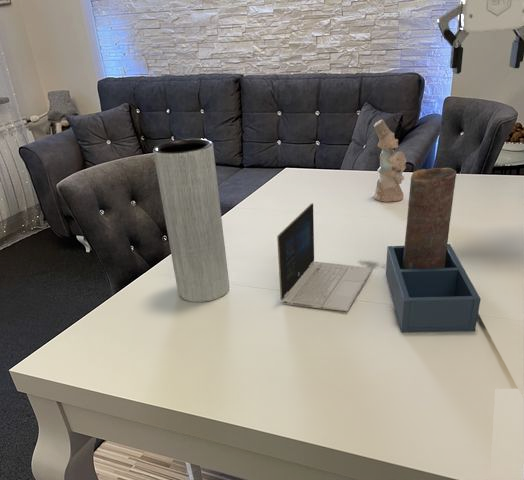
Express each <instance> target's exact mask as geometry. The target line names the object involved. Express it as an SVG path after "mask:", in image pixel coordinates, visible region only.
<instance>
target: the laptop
mask: <svg viewBox="0 0 524 480" xmlns="http://www.w3.org/2000/svg"><path fill="white" fill-rule="evenodd" d="M314 230H315V228H314V203H313V202H311V203H310V204H309V205H308V206H307V207H306V208H305V209H304V210H303V211H302V212H300V213H299V214H298V215H297V216H296V217H295V218H294V219H293V220H292V221H291V222H290V223H289V224H288V225H287V226H286V227H285V228H284V229H283V230H282V231H281V232H280V233H279V234H278V235H277V237H276V239H277V240H276V241H277V259H278V276H279V278H278V279H279V294H280V295H279V297H280V301H281V304H283V305H291V306H298V307H306V308H316V309H323V310H334V311H344V312H347V311H349V309H350V308H351V305H352V304H353V302H354V301H355V299H356V297H357V296H358V294H359V292H360V291H361V289H362V288H363V286H364V284H365V282H366V281H367V279H368V277H369V276H370V274H371V272H372V270H373V268H372V267H368V266H359V265H350V264H343V263H342V264H341V263H330V262H324V261H323V262H321V261H315V231H314Z"/></svg>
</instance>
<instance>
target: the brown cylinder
mask: <svg viewBox="0 0 524 480" xmlns="http://www.w3.org/2000/svg"><path fill="white" fill-rule="evenodd" d="M456 180H457V171H456V170H455V169H453V168H452V167H433V168H428V169H426V168H422V169H417V170H414V171H413V173H412V174H411V176H410V183H409V193H408V203H407V204H408V205H407V217H406V227H405V237H404V238H405V239H404V245H403V246H404V256H403V268H402V269H428V268H445V260H446V252H447V244H449V234H450V225H451V224H450V223H451V217H452V211H453V210H452V209H453V203H454V194H455V187H456Z"/></svg>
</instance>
